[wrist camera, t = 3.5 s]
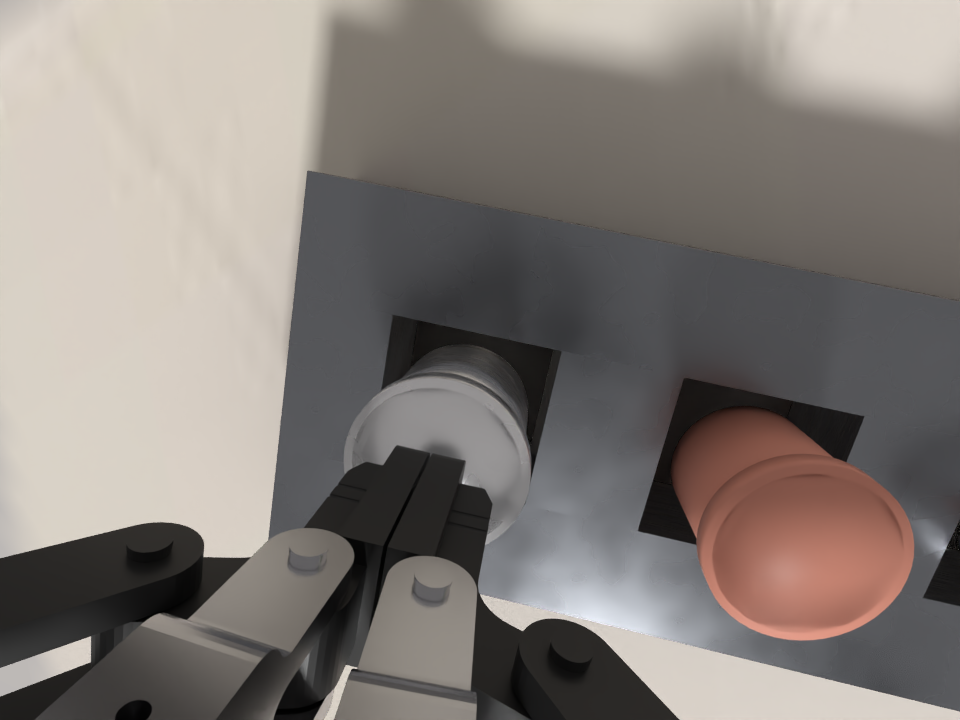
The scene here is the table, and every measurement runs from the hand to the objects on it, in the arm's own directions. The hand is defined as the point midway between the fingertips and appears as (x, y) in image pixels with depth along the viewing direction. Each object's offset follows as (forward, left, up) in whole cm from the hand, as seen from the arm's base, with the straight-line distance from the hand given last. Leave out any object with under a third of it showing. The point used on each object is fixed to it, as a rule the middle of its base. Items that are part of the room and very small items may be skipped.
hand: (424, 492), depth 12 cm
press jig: (-9, 0, -9) cm, 13 cm away
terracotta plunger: (-9, 0, -6) cm, 10 cm away
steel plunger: (0, 0, -6) cm, 6 cm away
